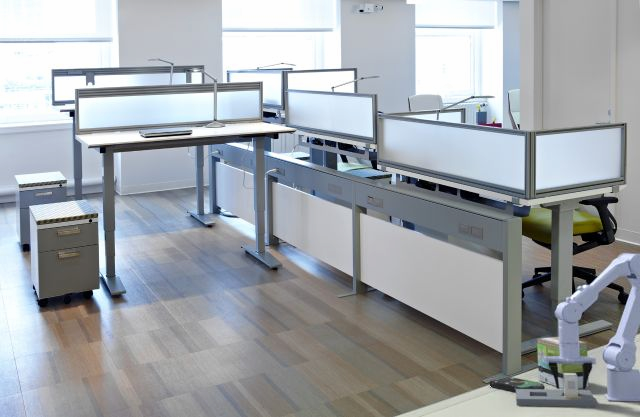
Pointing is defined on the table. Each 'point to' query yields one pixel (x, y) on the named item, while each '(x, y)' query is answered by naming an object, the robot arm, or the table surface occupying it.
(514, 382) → the disk drive
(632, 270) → the robot arm
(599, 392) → the table surface
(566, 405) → the panel
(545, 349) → the tea box
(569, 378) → the plug
